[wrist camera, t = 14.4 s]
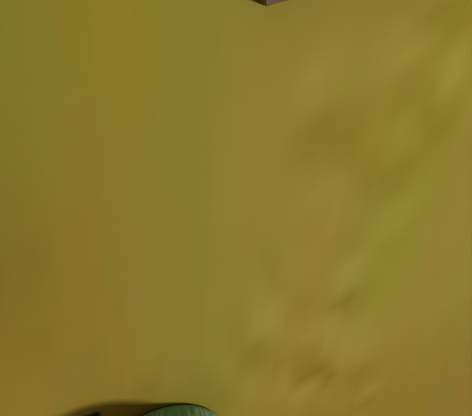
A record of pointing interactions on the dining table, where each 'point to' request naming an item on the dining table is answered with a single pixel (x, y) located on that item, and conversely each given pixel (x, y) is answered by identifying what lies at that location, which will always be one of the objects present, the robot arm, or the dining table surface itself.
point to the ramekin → (181, 411)
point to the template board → (270, 2)
